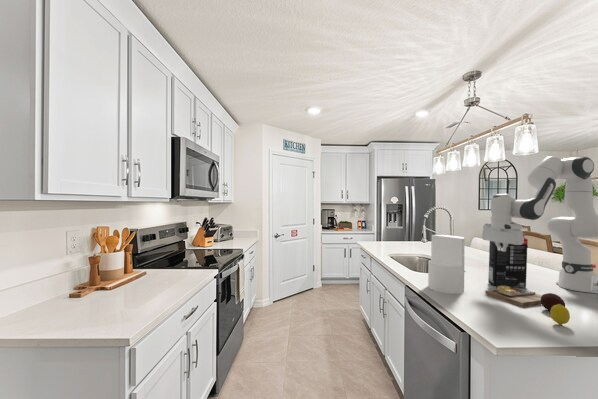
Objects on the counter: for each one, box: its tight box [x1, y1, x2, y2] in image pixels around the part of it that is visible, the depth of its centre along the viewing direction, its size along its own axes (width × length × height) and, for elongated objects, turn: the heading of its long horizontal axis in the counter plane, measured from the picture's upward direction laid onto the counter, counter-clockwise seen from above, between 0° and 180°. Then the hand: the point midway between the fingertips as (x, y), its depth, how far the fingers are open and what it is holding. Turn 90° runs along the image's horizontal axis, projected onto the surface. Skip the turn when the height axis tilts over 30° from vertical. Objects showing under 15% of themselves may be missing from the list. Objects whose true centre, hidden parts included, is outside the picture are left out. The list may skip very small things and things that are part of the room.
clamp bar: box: [504, 289, 536, 296], centre depth 139 cm, size 16×3×1 cm, turn 106°
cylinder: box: [427, 234, 466, 295], centre depth 154 cm, size 17×17×28 cm
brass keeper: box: [497, 285, 516, 294], centre depth 139 cm, size 4×6×3 cm, turn 17°
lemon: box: [549, 304, 571, 326], centre depth 109 cm, size 6×6×8 cm
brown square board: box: [485, 287, 543, 308], centre depth 139 cm, size 20×18×2 cm
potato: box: [541, 292, 566, 312], centre depth 123 cm, size 8×9×8 cm
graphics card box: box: [487, 237, 528, 288], centre depth 160 cm, size 17×7×27 cm, turn 84°
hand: (501, 251), depth 149 cm, fingers closed
